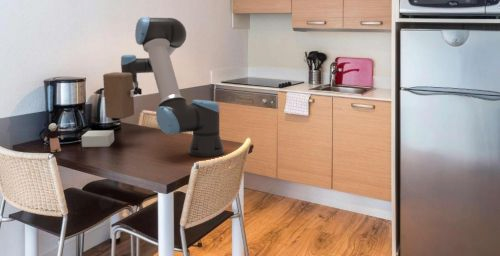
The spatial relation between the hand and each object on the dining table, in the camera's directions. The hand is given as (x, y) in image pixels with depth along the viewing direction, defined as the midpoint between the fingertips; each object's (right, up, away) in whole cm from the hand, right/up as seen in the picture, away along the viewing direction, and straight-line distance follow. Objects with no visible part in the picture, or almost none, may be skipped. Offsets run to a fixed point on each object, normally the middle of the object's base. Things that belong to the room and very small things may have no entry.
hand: (117, 94), depth 201 cm
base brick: (-12, -23, +11) cm, 28 cm away
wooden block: (0, -10, +6) cm, 12 cm away
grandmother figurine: (-27, -26, -3) cm, 37 cm away
